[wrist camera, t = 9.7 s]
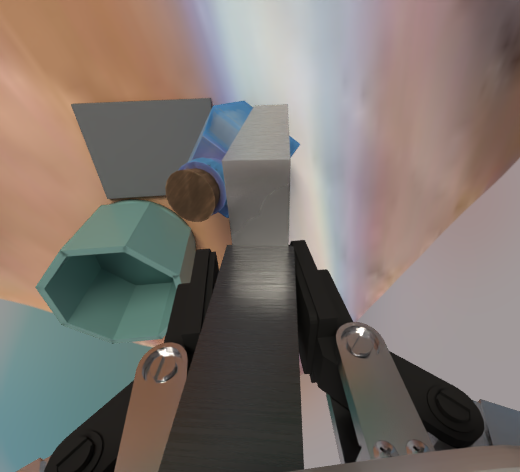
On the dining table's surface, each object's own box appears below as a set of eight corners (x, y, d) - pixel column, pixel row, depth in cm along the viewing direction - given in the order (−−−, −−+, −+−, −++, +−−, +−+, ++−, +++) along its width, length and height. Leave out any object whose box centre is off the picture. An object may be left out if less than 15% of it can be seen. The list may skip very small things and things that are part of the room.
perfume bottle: (263, 195, 27) (211, 260, 17) (214, 158, 26) (131, 203, 16) (300, 144, 23) (261, 189, 13) (244, 100, 23) (161, 113, 13)
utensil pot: (186, 195, 29) (170, 242, 21) (202, 278, 35) (195, 335, 28) (70, 203, 28) (11, 254, 20) (110, 285, 35) (77, 347, 27)
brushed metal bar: (291, 104, 16) (383, 915, 1) (288, 229, 21) (295, 658, 6) (251, 105, 16) (-197, 783, 1) (258, 229, 21) (194, 642, 6)
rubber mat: (210, 98, 24) (210, 98, 23) (221, 190, 29) (221, 191, 28) (73, 103, 23) (71, 104, 23) (109, 197, 28) (107, 198, 28)
